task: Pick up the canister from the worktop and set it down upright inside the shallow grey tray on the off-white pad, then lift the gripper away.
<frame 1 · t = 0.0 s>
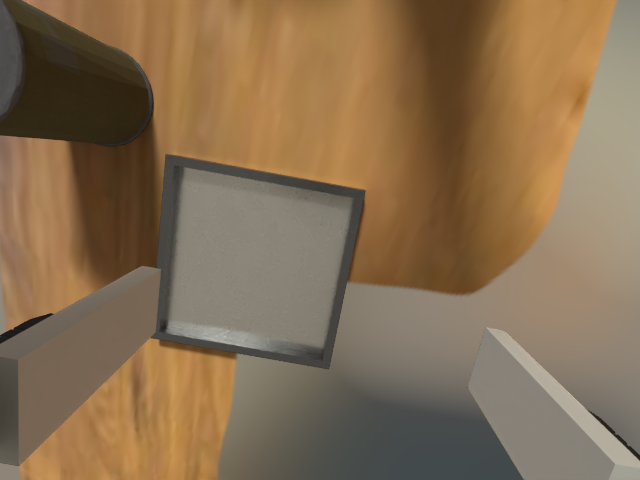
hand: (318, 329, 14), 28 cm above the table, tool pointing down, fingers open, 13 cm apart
shallow grey tray: (255, 263, 43), on the table
canister: (106, 95, 40), on the table
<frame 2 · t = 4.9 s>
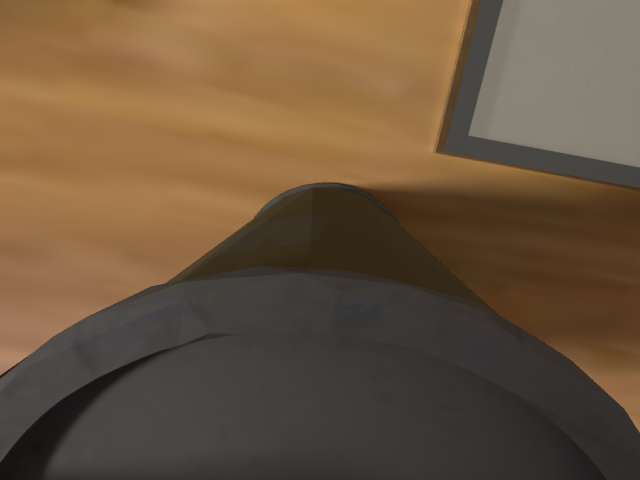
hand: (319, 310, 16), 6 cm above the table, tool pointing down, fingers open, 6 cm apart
canister: (321, 269, 22), on the table, touching hand
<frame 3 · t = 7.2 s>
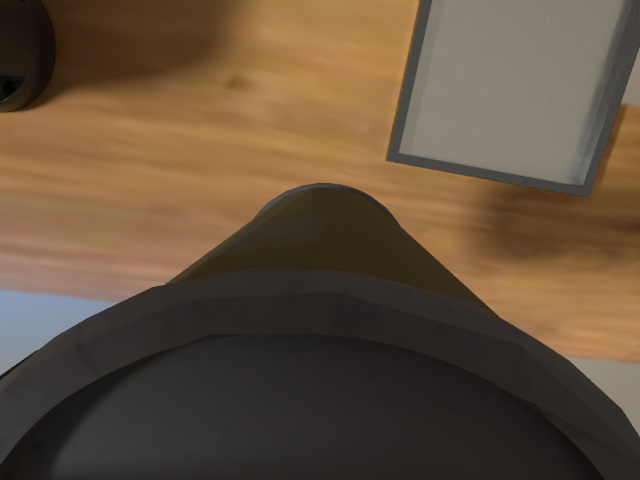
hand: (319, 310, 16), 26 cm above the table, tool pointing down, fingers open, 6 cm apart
shallow grey tray: (509, 75, 38), on the table
canister: (321, 270, 22), point 20 cm above the table, touching hand
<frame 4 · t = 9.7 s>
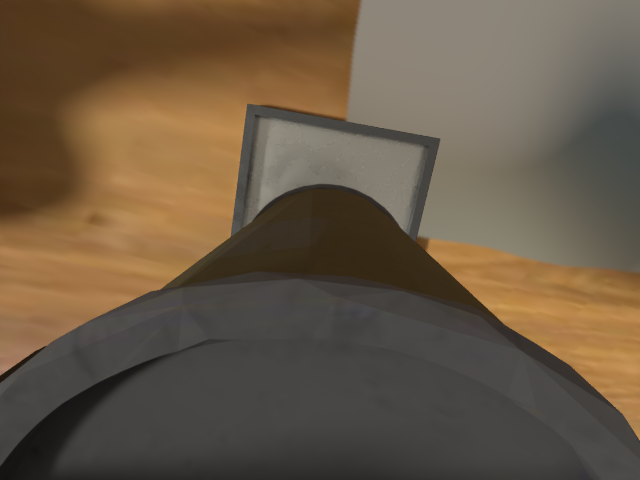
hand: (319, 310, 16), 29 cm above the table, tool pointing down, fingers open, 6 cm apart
shallow grey tray: (326, 214, 44), on the table
canister: (320, 270, 22), point 23 cm above the table, touching hand
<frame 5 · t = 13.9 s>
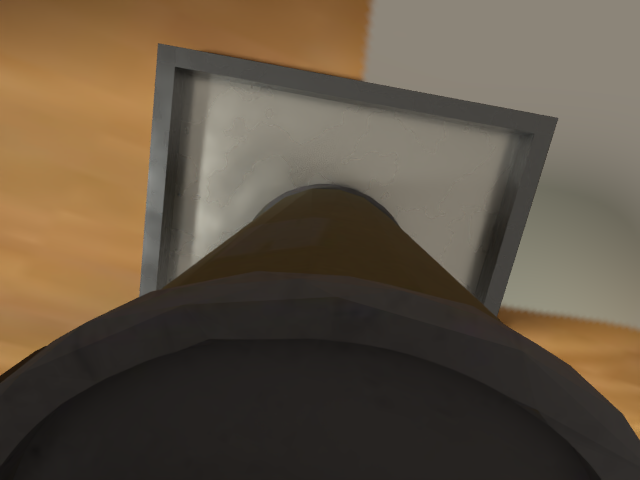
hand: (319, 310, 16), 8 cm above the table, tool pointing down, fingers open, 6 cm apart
shallow grey tray: (323, 263, 24), on the table
canister: (320, 270, 22), point 2 cm above the table, touching hand
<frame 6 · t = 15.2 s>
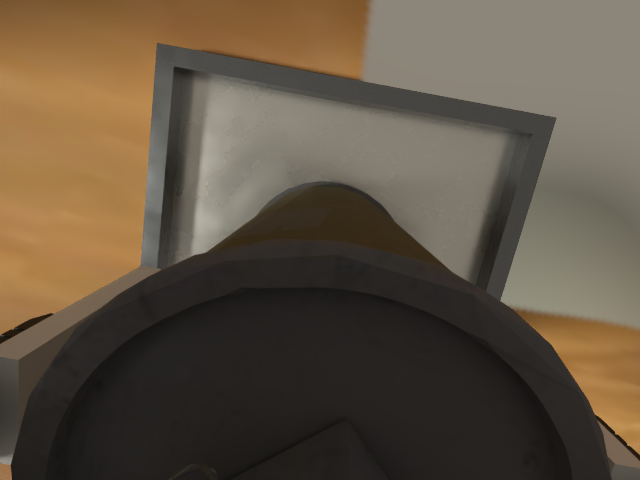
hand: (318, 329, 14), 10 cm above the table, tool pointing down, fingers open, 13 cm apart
shallow grey tray: (322, 263, 24), on the table
canister: (320, 263, 23), resting on shallow grey tray
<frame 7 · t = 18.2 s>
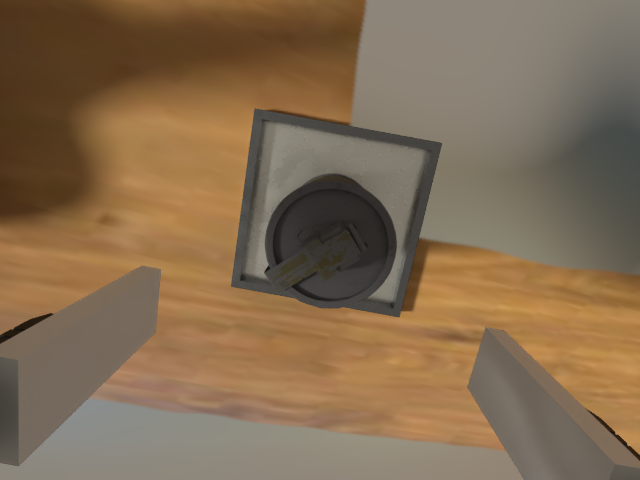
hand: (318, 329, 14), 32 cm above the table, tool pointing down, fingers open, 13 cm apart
shallow grey tray: (331, 216, 45), on the table
canister: (329, 216, 45), resting on shallow grey tray
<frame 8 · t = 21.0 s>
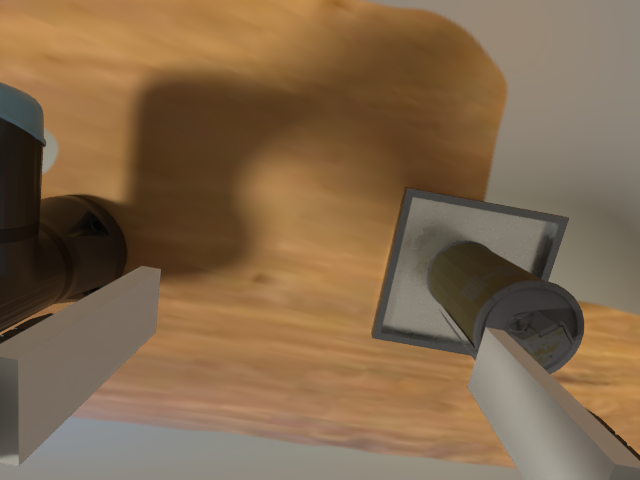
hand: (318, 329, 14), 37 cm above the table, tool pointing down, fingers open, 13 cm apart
shallow grey tray: (461, 276, 52), on the table
canister: (461, 276, 51), resting on shallow grey tray
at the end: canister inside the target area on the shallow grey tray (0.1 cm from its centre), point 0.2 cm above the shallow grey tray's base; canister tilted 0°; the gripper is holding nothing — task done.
